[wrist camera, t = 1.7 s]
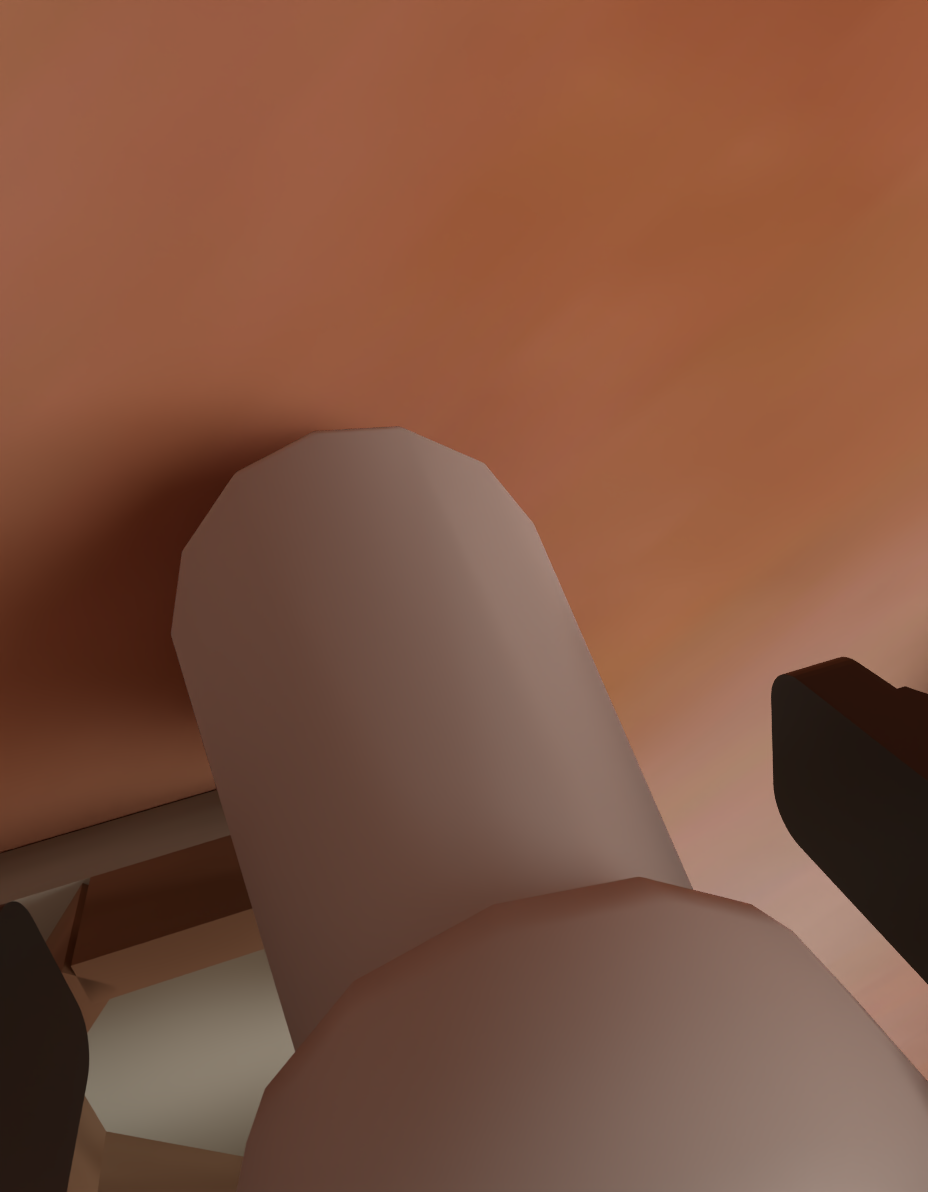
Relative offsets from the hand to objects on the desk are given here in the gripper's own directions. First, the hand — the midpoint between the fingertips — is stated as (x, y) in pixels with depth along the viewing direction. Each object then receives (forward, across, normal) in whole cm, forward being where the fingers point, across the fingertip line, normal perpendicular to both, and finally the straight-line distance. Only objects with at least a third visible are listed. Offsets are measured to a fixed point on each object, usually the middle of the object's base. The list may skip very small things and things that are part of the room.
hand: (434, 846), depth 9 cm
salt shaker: (+8, 0, -1) cm, 8 cm away
